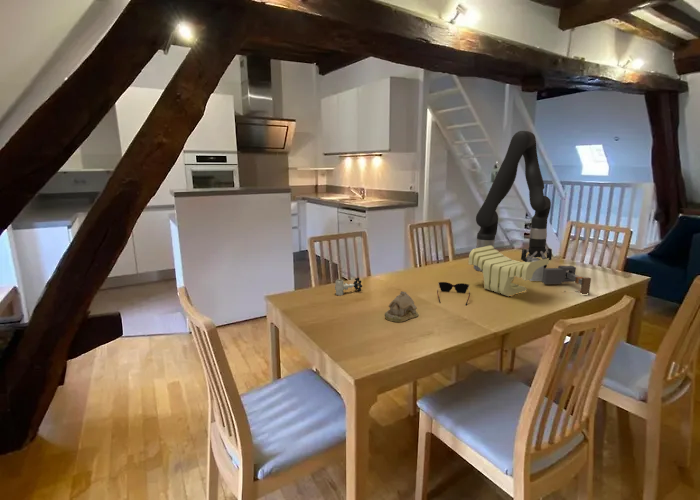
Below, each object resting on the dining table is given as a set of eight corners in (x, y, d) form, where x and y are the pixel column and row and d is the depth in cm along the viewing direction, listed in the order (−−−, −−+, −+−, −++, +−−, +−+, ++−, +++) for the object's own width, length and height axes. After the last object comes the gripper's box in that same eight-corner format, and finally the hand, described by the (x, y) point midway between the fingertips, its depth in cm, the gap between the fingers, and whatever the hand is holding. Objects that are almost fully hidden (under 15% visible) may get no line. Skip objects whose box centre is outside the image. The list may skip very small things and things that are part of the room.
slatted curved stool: (467, 285, 192) (469, 249, 188) (488, 279, 200) (491, 245, 196) (522, 304, 167) (527, 263, 163) (544, 296, 176) (549, 257, 172)
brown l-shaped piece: (567, 296, 176) (569, 278, 174) (543, 281, 197) (545, 265, 195) (589, 295, 177) (592, 278, 175) (563, 281, 197) (565, 265, 195)
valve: (338, 297, 177) (362, 293, 182) (338, 283, 176) (362, 279, 181) (332, 292, 183) (355, 289, 188) (332, 279, 181) (355, 275, 186)
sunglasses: (468, 294, 181) (469, 283, 180) (469, 308, 166) (470, 297, 165) (437, 291, 184) (438, 281, 183) (436, 306, 170) (436, 295, 168)
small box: (542, 282, 196) (544, 261, 194) (531, 282, 196) (533, 261, 194) (535, 277, 204) (537, 257, 202) (524, 277, 204) (526, 257, 202)
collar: (545, 284, 190) (546, 268, 188) (541, 282, 193) (543, 266, 191) (573, 283, 190) (575, 267, 188) (570, 281, 193) (572, 265, 191)
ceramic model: (398, 307, 165) (398, 284, 162) (422, 313, 158) (423, 289, 156) (379, 318, 154) (379, 294, 152) (405, 325, 147) (405, 300, 145)
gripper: (548, 235, 199) (545, 266, 202) (520, 236, 198) (517, 267, 202) (556, 238, 192) (553, 270, 195) (527, 238, 191) (524, 271, 195)
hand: (535, 268), depth 199 cm, fingers open, 8 cm apart
